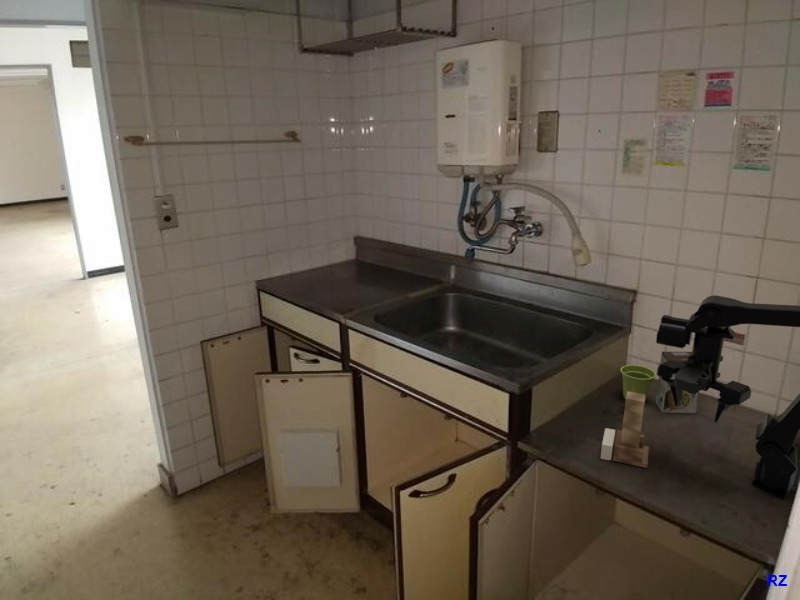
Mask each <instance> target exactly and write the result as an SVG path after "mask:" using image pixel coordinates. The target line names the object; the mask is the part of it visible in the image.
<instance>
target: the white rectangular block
mask: <svg viewBox="0 0 800 600" xmlns="http://www.w3.org/2000/svg"><path fill="white" fill-rule="evenodd" d="M615 440H616V429H612V428H608V427H607V428H605V429H604V433H603V438H602V443H601V451H600V460H605V461H609V460H611V461H612V459H613V453H614V446H615Z"/></svg>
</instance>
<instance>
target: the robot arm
mask: <svg viewBox="0 0 800 600" xmlns="http://www.w3.org/2000/svg"><path fill="white" fill-rule="evenodd" d="M740 325H761V326H774V327H776V326H777V327H792V328H800V305H795V304H794V305H791V304H770V303H750V302H745V301H742V300H738V299H736V298H732V297H726V296H721V295H709V296H707V297H706V298H704V299H703V300H702V302H701V303H700V305H699V307H698V309H697V310H696V311H695V312H694V313H692V314H691V316H689V319H687V318H682V317H680V318H679V317H674V316H671V315H667V314H663V315H662V317H661V319H660V323H659V327H658V331H657V332H656V337H655V338H656V341H655V342H656V344H657V345H663V346H669V347H674V348H678V349H684V348H686V346H690V345H691V341H692V337H693V334H694V338H693V344H692V349H691V350H692V351H691V352H692V355H690V356H689V357H688V359H687V363H686V364H683V363H680V362H677V361H674V360H672V359H671V360H669V361H667V362H664V363H662V364H659V365H658V366H657V368H656V369H657V370H656V376H658V377H659V376H660V377H662V380H663V381H665V382H666V383H668V384H669V386H670V389H671V391H672V395H673V399H674V403H675V406H676V407H678V406H679V405H680V402H681V398H682V393H683V390H684V391H687V392H688V393H690V394H696V393H697V392H698V391H699V392H700V391H703V392H708V390H709V389H712V390H715V391H718V392H719V394H718V395H719V398H718V399H717V400H716V401H717V403H718V405H717V408H716V413H715V416H714V423H716V424H717V423H719V421H720V420H721V419H722V418H723V417H724V416H725V414H726V412H728V410H729V409H730V407H731V406H734V405H737V406H738V405H739V406H740V405H741V404H743V403H744V402H746V401H747V400H749V399H751V395H752V390H751V387H750V386H749V385H747V384H744V383H740V382H738V381H735V380H732V381H730V382H728V383H724V382H721V381H718V379H719V378H721V372H719V369H720V364H721V362H723V360H724V356H723V355H722V352H723V346H724V342H725V341H724V340H725V339H728V340H734V338H735V335H736V332H735V331H734V330H733V329H732V328H731V327H734V326H740ZM755 431H756V433H755V438H754V439H755V451H756V453H757V454H758V455H759V456H760V458H759V460H758V461H757V462H756V465H755V469H754V474H753V479H754V480H751V481H752V482H751V484H752V485H753V486H755V487H758V488H760V489H761V490H763V491H766V492H768V493H770V494H773V495H775V496H777V497H778V498H781V499H785V498H787V497H788V496H789V495H790V494H791V493H792V492H793V491H795V490H796V487H797V485H796V484H795V482H796V481H795V480H796V476H797V472H798V468H799V467H798V465H797V462H798V461H797V459H798V458H797V453H798V449H797V448H796V447H795V446H794V442H795V440H796V438H797V436H798V433H799V431H800V393H799V394H798V395H797V396H796V397H795V398H794V399H793V400H792V402H791V403H790V404H789V405H788V406H787V407H786V408H785V410H784V411H783V412H782V413H780V414H779V415H777V416H775V417H773V416H772V415H771V414H769V413H767V414H766V416H765V418H764V419H763V421H762V422H761V423H758V424H757V425H756V430H755ZM791 491H792V492H791Z"/></svg>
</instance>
